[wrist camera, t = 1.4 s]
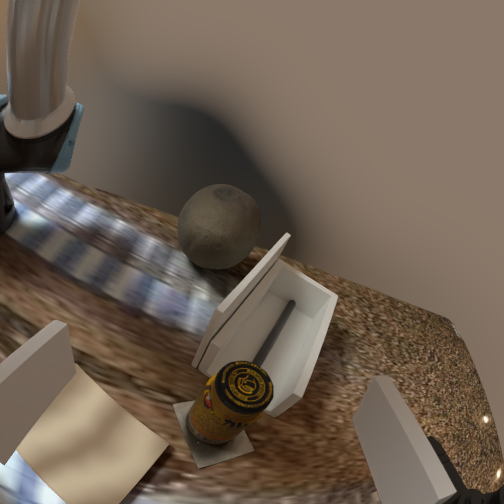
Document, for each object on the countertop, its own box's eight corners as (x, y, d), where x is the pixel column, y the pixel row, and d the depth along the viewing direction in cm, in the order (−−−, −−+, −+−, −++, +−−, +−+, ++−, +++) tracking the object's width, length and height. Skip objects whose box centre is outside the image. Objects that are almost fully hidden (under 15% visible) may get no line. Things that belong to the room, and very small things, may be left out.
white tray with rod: (190, 364, 33) (215, 308, 27) (258, 284, 51) (286, 232, 45) (275, 418, 31) (326, 377, 25) (317, 321, 49) (354, 274, 43)
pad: (3, 431, 15) (0, 429, 14) (77, 366, 26) (76, 363, 26) (98, 526, 12) (96, 527, 12) (168, 445, 24) (169, 443, 23)
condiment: (226, 393, 32) (263, 345, 25) (253, 450, 27) (306, 421, 20) (172, 404, 28) (191, 358, 22) (197, 468, 23) (231, 451, 16)
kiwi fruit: (153, 247, 48) (171, 172, 40) (209, 232, 59) (233, 169, 51) (201, 302, 43) (232, 224, 35) (256, 275, 53) (290, 210, 45)
